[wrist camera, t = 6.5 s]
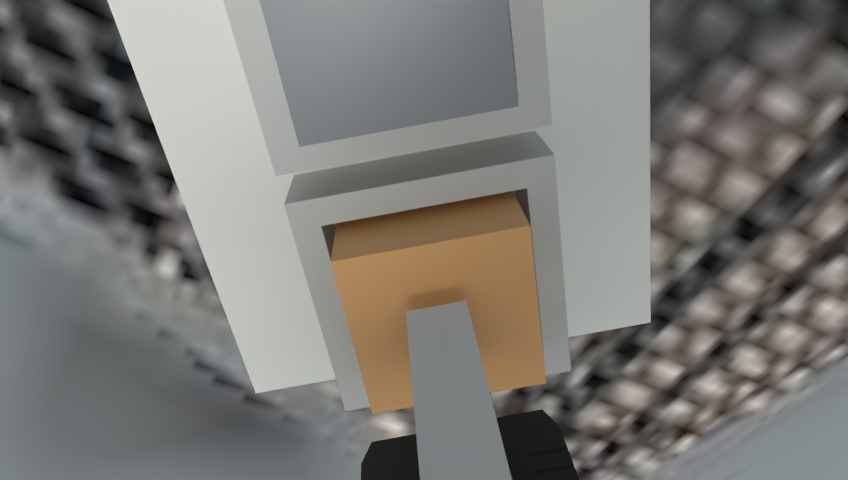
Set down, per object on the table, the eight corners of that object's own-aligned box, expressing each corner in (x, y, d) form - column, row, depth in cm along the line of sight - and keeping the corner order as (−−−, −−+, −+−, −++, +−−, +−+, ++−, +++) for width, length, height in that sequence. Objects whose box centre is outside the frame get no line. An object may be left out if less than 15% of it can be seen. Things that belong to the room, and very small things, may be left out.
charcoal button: (473, -140, 14) (492, -154, 12) (499, 83, 16) (518, 106, 14) (254, -98, 14) (230, -104, 12) (309, 118, 16) (299, 146, 14)
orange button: (511, 189, 17) (530, 225, 15) (527, 333, 19) (546, 383, 17) (336, 221, 17) (330, 261, 15) (373, 361, 20) (372, 414, 17)
